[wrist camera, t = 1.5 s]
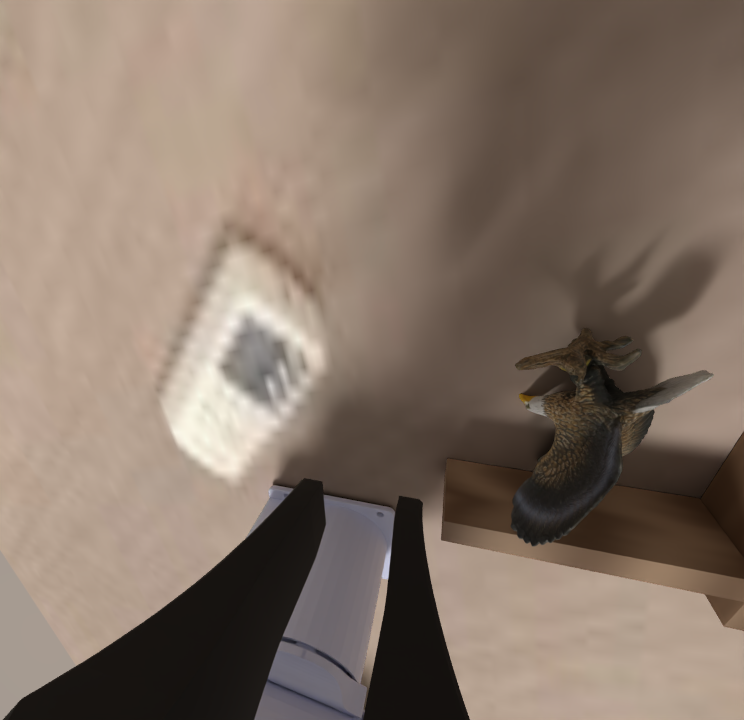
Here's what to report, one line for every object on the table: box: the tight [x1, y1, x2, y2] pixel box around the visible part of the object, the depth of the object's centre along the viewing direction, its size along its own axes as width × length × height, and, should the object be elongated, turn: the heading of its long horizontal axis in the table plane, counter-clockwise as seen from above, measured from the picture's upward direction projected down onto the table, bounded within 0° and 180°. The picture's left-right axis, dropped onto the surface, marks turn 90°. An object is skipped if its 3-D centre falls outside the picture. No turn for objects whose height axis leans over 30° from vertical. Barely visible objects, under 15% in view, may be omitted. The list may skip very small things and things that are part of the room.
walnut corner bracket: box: [441, 433, 744, 631], centre depth 16 cm, size 15×16×4 cm
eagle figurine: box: [511, 328, 714, 547], centre depth 15 cm, size 8×7×9 cm
